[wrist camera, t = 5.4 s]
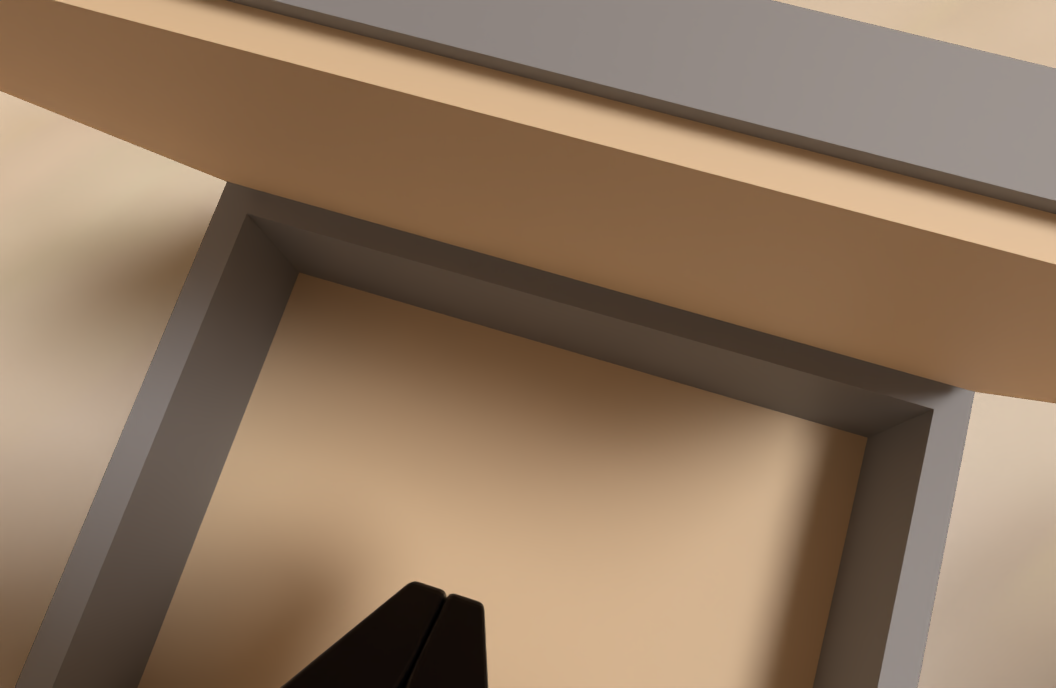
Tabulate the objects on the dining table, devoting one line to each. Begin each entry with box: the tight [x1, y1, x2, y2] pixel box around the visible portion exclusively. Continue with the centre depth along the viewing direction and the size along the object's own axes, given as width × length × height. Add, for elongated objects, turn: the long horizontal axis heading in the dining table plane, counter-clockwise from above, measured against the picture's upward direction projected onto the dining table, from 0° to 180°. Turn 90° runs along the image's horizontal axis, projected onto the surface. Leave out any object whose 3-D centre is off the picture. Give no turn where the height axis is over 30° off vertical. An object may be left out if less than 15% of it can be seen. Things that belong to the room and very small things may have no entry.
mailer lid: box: [0, 0, 1056, 403], centre depth 10 cm, size 12×14×1 cm
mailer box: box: [15, 182, 975, 688], centre depth 17 cm, size 12×14×4 cm
